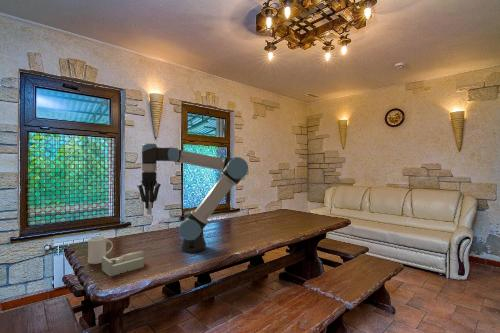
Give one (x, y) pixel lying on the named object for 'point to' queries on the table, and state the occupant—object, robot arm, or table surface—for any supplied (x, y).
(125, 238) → the table surface
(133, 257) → the bottle
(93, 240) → the mug
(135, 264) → the cradle
